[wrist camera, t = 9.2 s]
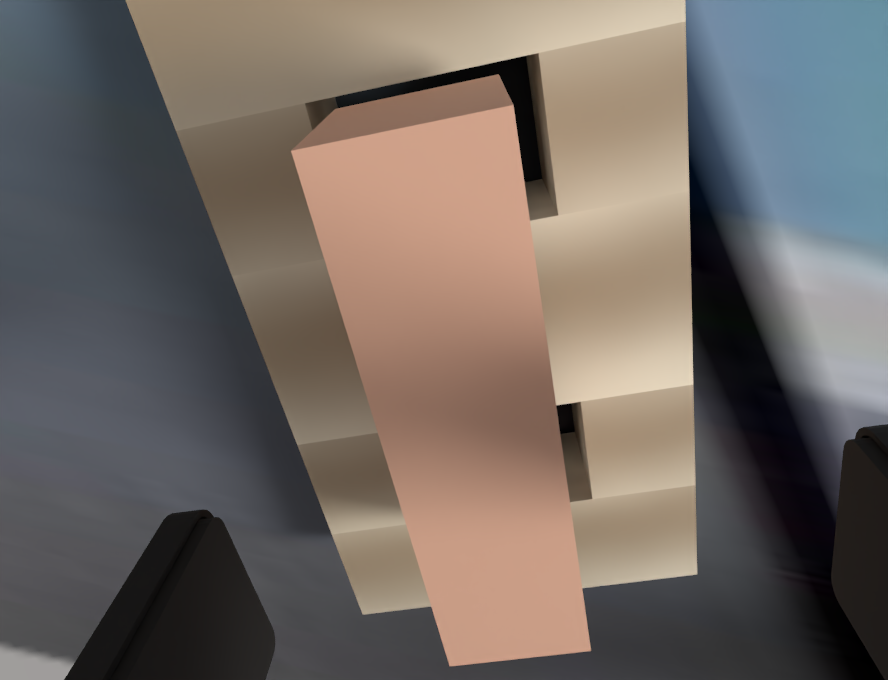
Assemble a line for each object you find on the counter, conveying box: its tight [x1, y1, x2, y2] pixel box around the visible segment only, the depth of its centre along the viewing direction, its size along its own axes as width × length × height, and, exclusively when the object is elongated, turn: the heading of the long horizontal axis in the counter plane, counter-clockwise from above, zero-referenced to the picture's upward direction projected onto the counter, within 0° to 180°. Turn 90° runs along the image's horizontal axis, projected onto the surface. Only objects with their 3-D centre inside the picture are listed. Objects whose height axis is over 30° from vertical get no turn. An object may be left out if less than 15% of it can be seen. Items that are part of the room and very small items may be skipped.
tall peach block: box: [291, 74, 591, 666], centre depth 14 cm, size 11×3×8 cm, turn 11°
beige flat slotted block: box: [126, 0, 697, 615], centre depth 16 cm, size 18×10×3 cm, turn 11°
